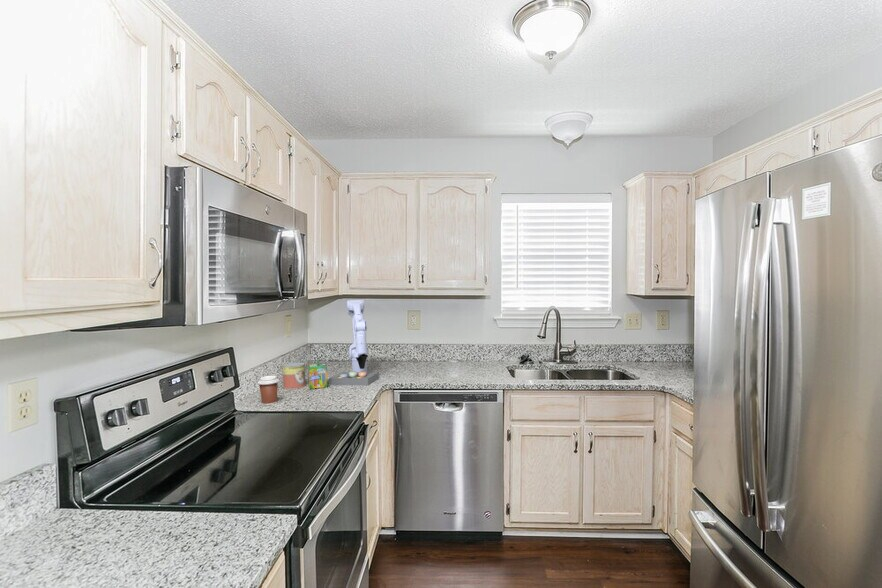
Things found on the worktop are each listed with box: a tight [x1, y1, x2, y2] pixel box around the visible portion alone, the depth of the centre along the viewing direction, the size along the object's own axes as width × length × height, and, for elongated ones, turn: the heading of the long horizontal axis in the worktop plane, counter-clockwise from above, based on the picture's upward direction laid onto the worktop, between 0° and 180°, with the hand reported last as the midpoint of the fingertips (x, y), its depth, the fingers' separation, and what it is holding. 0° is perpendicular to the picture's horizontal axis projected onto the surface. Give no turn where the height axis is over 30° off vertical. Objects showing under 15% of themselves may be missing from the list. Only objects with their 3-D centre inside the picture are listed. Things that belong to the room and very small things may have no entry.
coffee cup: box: [257, 375, 280, 406], centre depth 201 cm, size 9×9×12 cm
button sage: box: [348, 371, 357, 377], centre depth 238 cm, size 4×4×3 cm
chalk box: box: [307, 358, 329, 390], centre depth 230 cm, size 9×9×15 cm
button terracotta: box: [359, 372, 366, 377], centre depth 236 cm, size 4×4×3 cm
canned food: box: [281, 361, 307, 390], centre depth 232 cm, size 11×11×12 cm
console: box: [328, 371, 380, 386], centre depth 240 cm, size 16×22×4 cm
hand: (362, 368), depth 236 cm, fingers closed
